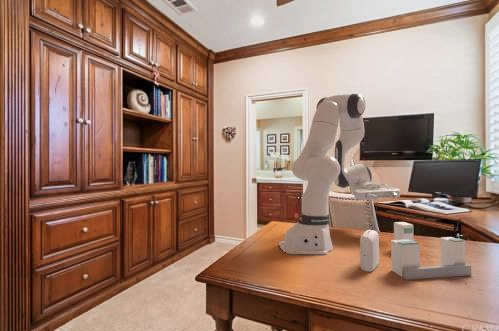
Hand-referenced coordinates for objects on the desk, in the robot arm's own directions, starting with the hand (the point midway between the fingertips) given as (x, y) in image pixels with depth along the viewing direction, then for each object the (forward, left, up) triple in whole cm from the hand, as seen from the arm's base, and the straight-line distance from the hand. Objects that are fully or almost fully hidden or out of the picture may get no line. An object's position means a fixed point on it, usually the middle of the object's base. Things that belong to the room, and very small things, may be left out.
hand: (385, 196), depth 110 cm
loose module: (0, -11, -20) cm, 23 cm away
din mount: (-6, -30, -20) cm, 37 cm away
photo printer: (-22, -23, -21) cm, 38 cm away
